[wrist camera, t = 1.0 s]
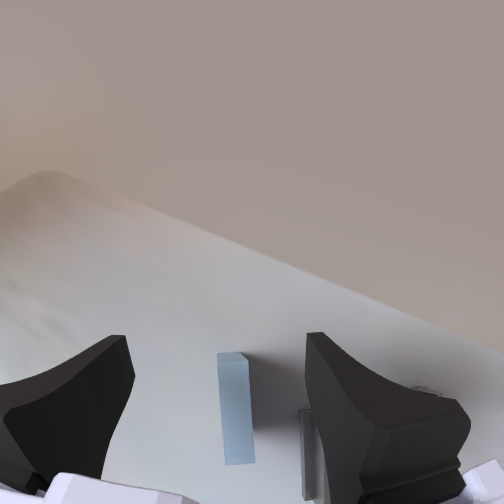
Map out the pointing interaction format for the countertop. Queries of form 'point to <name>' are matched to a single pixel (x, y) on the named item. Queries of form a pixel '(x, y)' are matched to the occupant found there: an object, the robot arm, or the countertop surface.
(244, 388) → the panel
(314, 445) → the rack
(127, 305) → the countertop surface
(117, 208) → the countertop surface
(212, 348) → the countertop surface
